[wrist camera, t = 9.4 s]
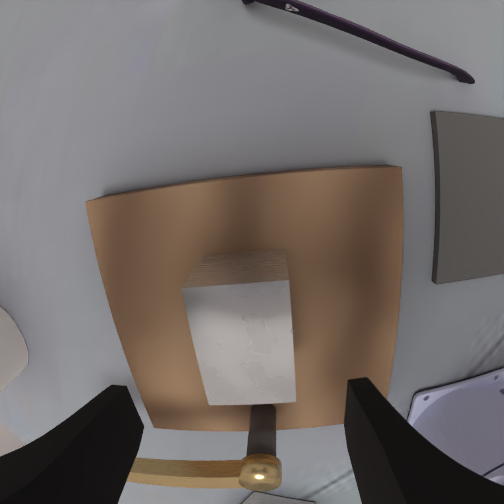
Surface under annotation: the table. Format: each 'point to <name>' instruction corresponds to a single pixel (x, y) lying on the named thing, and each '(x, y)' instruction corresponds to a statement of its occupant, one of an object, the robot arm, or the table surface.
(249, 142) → the table surface
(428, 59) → the sunglasses
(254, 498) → the supplement box
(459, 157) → the rubber mat
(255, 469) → the lever
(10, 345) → the cylindrical container
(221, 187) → the wooden base
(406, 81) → the table surface
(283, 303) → the grey block
